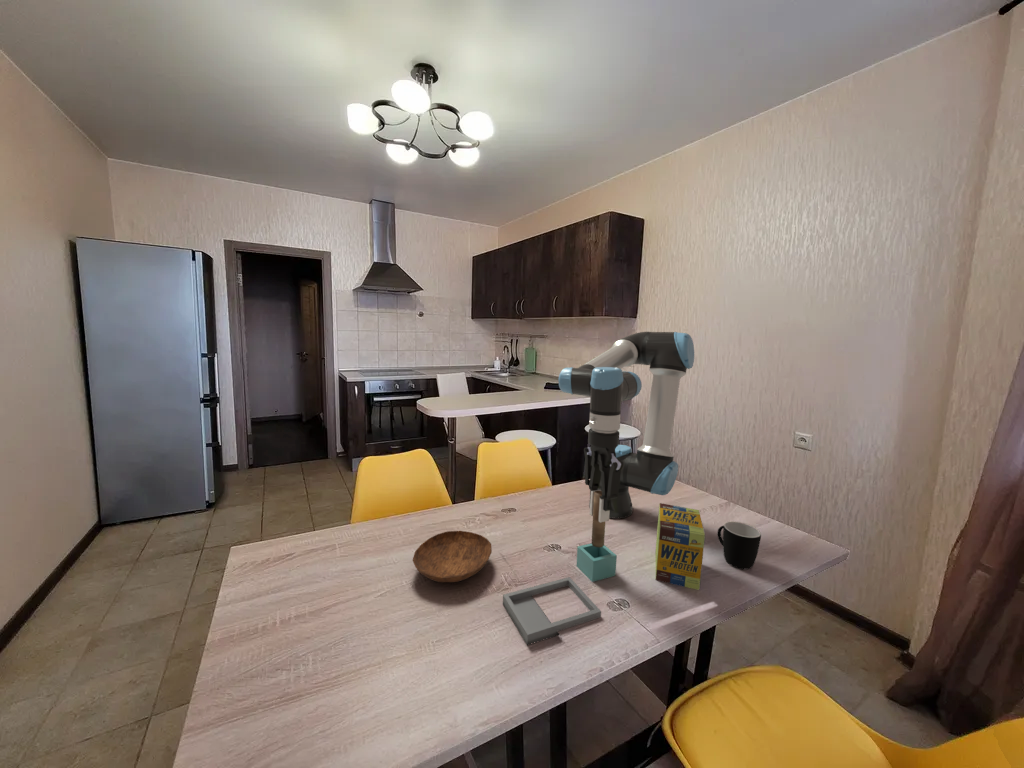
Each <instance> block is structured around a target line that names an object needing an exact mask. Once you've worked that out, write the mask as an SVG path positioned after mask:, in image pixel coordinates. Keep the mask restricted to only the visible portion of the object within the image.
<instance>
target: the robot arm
mask: <svg viewBox="0 0 1024 768" xmlns="http://www.w3.org/2000/svg"><path fill="white" fill-rule="evenodd" d="M694 363H695V346H694V341H693V338H692V336H691V335H690V334H689V333H686V332H678V331H674V332H673V331H640V332H636V333H633V334H630V335H626V336H625V337H622V338H621V339H619V340H617V341H615V342H614V343H613V344H612V346H611V347H610V348H609V349H608V350H606V351H604V352H602V353H600V354H599V355H597V356H595V357H594V358H593V359H590V360H589V361H587V362H585V363H584V364H582V365H580V366H579V367H572V366H571V367H564V368H562V369H561V371H560V372H559V375H558V380H557V381H558V387H559V389H560V391H561V392H563V393H565V394H569V395H575V396H576V395H577V396H585V397H590V399H589V404H590V405H589V421H588V422H589V423H588V427H589V429H588V433H587V434H588V439H587V443H588V444H589V445H590V447H589V446H588V447H584V448H583V452H584V453H583V454H584V483H585V486H588V489H589V500H588V501H589V503H588V507H589V515H590V516H591V517H593V505H594V492H595V491H602V496H600V503H599V522H600V523H601V522H605V523H606V522H609V521H610V519H625V518H628V517H630V516H631V515H632V514H633V509H634V508H633V503H632V499H631V495H630V490H629V488H632V489H635V490H641V491H644V492H646V493H647V492H648V493H650V494H652V495H658V496H666V495H669V493H670V492H671V491H672V489H673V487H674V485H675V483H676V480H677V476H678V473H679V464H678V462H677V461H675V460H674V457H675V455H674V454H673V452H672V451H671V445H672V444H671V443H672V437H673V429H674V423H675V416H676V409H677V403H678V402H677V401H678V396H679V390H680V389H679V388H680V384H681V383H680V382H681V379H682V378H683V377H684V376H686V375H687V370H690V369H692V368H693V367H694ZM632 365H643V366H649V371H650V373H651V374H652V379H651V380H652V382H651V387H650V395H649V402H648V409H647V415H646V421H645V422H646V423H645V427H644V428H645V429H644V434H643V440H642V441H643V442H642V445H640V446H639V447H638V448H637V449H636V453H635V452H633V449H632V447H631V446H628V445H625V444H619V443H620V431H619V430H620V429H621V410H622V402H625V401H629V400H632V399H634V398H635V397H636V396H638V395H639V394H640V392H641V390H642V387H643V386H642V380H641V378H640V376H639V375H637V374H636V373H635V372H633V371H625V370H624V371H623V370H622V369H623V368H627V367H631V366H632Z"/></svg>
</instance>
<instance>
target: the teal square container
mask: <svg viewBox="0 0 1024 768" xmlns="http://www.w3.org/2000/svg"><path fill="white" fill-rule="evenodd" d="M576 551H577V553H576V564H575V566H576V567H577V568H578V570H579V571H580V572H582V573H583V574H584V576H585V577H587V579H588V580H589V581H591V583H594V582H598V581H601V580H605V579H607V578H608V579H609V578H612V577H615V576H616V575H617V574H616V572H617V558H618V557H617V556H618V555H617V554H616V553H615V552H614V551H612V550H611V549H610V548H609V547H608V546H606V545H605V544H604V546H603V547H595V546H593V545H592V542H591V543H587V544H582V545H579V546H577V549H576Z"/></svg>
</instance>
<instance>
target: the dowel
mask: <svg viewBox="0 0 1024 768" xmlns="http://www.w3.org/2000/svg"><path fill="white" fill-rule="evenodd" d="M600 496H602V491H595V492H594V505H593V516H592V526H591V527H592V529H591V543H592V545H593V546H595V547H603V546H604V545H605V533H606V521H605V522H601V523H600V522H599V503H600Z"/></svg>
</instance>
